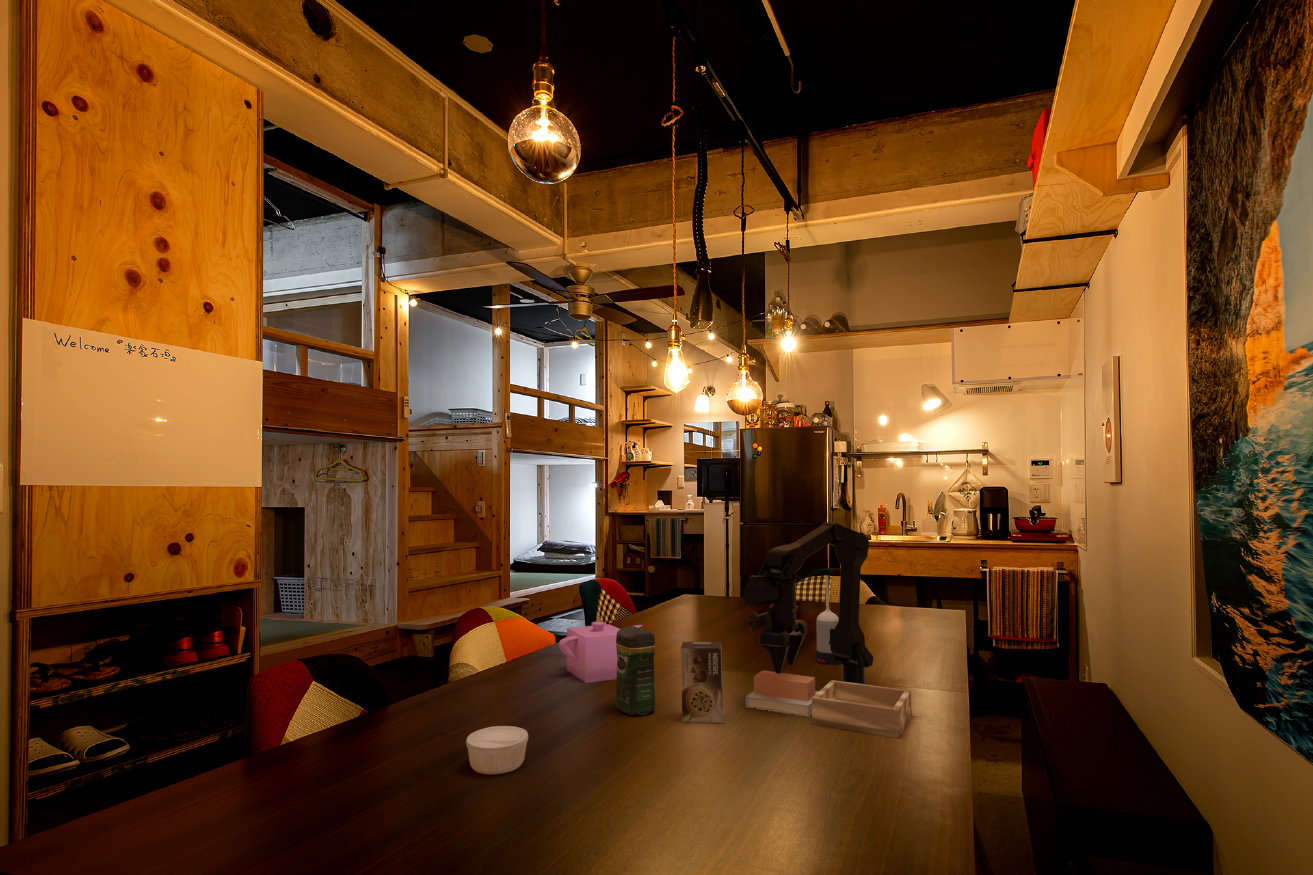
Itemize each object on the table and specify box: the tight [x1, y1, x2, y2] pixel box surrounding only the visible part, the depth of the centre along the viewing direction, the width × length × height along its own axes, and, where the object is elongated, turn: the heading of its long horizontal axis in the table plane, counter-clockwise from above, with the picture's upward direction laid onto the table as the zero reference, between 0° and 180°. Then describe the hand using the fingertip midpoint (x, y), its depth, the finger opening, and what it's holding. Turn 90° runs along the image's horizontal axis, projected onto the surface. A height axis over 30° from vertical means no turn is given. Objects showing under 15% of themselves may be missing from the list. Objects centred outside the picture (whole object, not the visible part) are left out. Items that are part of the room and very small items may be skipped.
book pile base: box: [744, 690, 819, 718], centre depth 164 cm, size 12×15×2 cm
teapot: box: [558, 621, 644, 684], centre depth 193 cm, size 15×25×14 cm, turn 117°
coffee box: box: [680, 641, 724, 724], centre depth 155 cm, size 9×6×16 cm
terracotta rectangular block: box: [753, 670, 816, 701], centre depth 164 cm, size 6×13×4 cm, turn 61°
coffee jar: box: [615, 625, 656, 716], centre depth 161 cm, size 10×8×19 cm
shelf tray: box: [811, 679, 913, 739], centre depth 153 cm, size 16×18×6 cm
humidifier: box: [814, 575, 842, 666], centre depth 207 cm, size 8×8×25 cm
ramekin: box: [465, 725, 529, 775], centre depth 128 cm, size 11×11×5 cm
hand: (784, 668), depth 164 cm, fingers open, 9 cm apart
